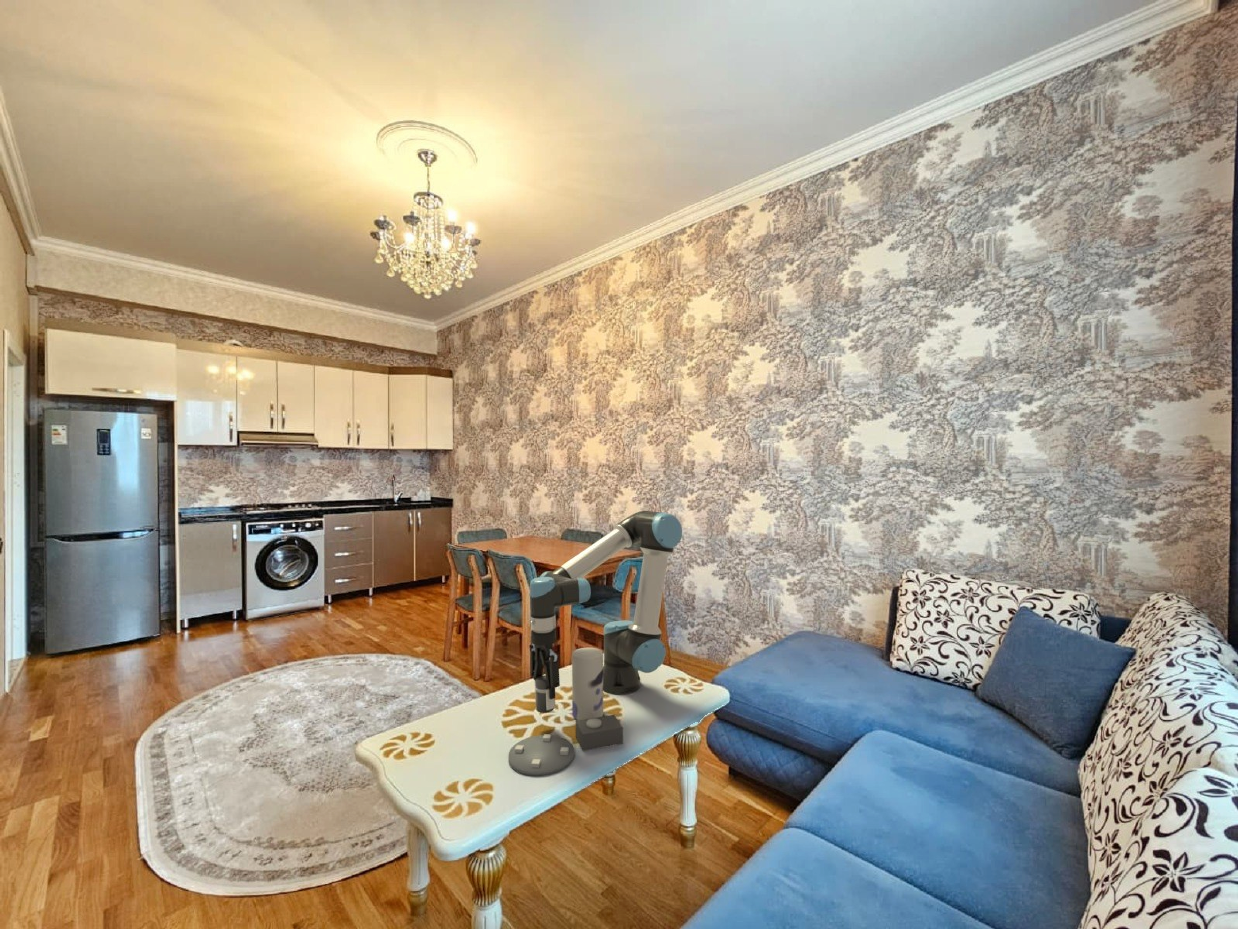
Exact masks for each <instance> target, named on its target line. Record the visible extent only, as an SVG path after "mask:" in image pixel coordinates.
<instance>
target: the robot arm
mask: <svg viewBox="0 0 1238 929" xmlns="http://www.w3.org/2000/svg"><path fill="white" fill-rule="evenodd" d="M682 538H683V526H682V524H681V522H680V521H679V519H678V518H677V516H675V515H673V514H671V513H667V512H664V511H663V512H661V511H650V510H640V511H638V512H635V513H633V514H631V515H629V516H627V517H626V518H624V519H622V520H621V521H619V522H618V523H617V524H615V525H614V526H613V530H611V531H610V532H608V533H607V534H606V535H604V536H603V537H601V538H600V539H598V540H597V541H595V542H594V543H593V544H591V545H590V546H588V547H586V548H585V549H584V550H583V551H580V553H578V554H577V555H575V556H574V557H572V558H571V559H569V560H568V561H567V562H565V563H564V564H562V565H561V566H559V567H558V568H556V569H554V570H553V571H552V570H551V571H550V570H549V571H544V572H543V573H542V574H541V575H540V576H539V577H535V578H533V579H532V580H531V581H530V584H529V601H530V602H529V605H530V606H529V607H530V622H529V623H530V629H531V631H530V642H531V644H529V645H528V647H529V648H528V649H529V658H530V659H529V661H530V662H529V672H530V674H529V675H530V677H533V681H534V687H535V686H536V678H537V677H539V676H543V675H546V681H547V687H546V710H550V709H553V708H554V709H555V708H556V688H557V687H560V686H561V684H560V683H561V682H560V680H561V679H560V664H559V663H560V662H559V661H560V653H555V652H554V646H553V645H554V643H555V642H556V640H557V634H556V632H557V631H556V628H557V625H556V622H557V621H556V608H560V607H561V608H562V607H566V606H571V605H572V606H573V605H576V604H582V603H586V602H588V601H589V600H590V598H591V594H592V591H591V590H592V589H591V584H590V582H589V580H587V579H586V578H584V577H585V576H587V575H588V574H589V573H591V572H592V571H594V570H595V569H596V568H598V567H599V566H601V565H602V564H603V563H605V562H607V561H608V560H609V559H611V558H612V557H614V556H615V555H616V554H618V553H619V552H620V551H621V550H624V549H625V548H627V549H628V548H631V547H632V546H633V545H635V544H639V543H640V545H639V546H640V547H639V549H640V550H641V552H642V553H643V556H642V563H641V570H640V577H639V582H638V584H639V585H638V589H637V595H636V603H635V611H634V617H633V620H628V619H627V620H626V619H625V620H614V621H609V622H608V623H606V624H605V625H604V626H603V692H605V693H609V694H616V695H625V694H630V693H631V694H632V693H633V692H636V691H637V690H639V689H640V688H641V677H640V675H639V674H640V672H642V673H644V674H649V673H653V672H655V671H656V670H658V668H659V667H661V666H662V664H663V662H664V660H665V658H666V653H667V652H666V646H665V645H664V643H663V641H662V640H661V639H662V630H661V628H660V627H659V622H660V621H659V620H660V615H661V606H662V600H663V592H664V584H665V578H666V572H667V564H668V558H669V556H671V555H673V554H674V548H675V547H677V546H678V545H679V543H680V542H681V540H682ZM544 672H545V673H544ZM543 673H544V674H543ZM534 696H535V697H534V699H535V703H536V690H535V689H534ZM554 709H553V710H554Z"/></svg>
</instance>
